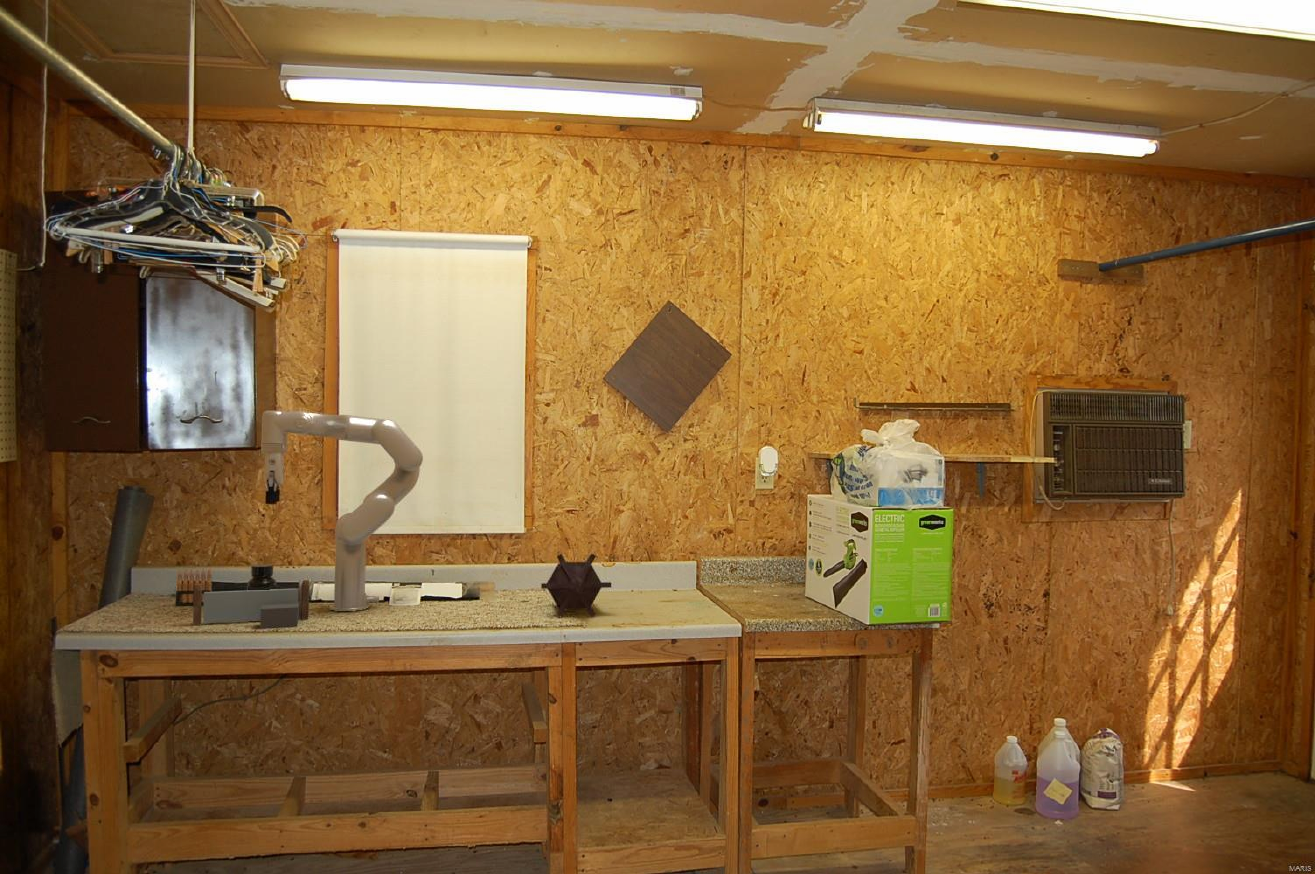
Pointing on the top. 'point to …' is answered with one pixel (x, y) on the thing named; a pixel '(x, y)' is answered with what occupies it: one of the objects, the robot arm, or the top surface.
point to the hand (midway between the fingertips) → (272, 502)
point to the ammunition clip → (191, 587)
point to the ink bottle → (261, 576)
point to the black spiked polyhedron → (574, 585)
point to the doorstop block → (279, 616)
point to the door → (243, 604)
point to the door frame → (302, 612)
